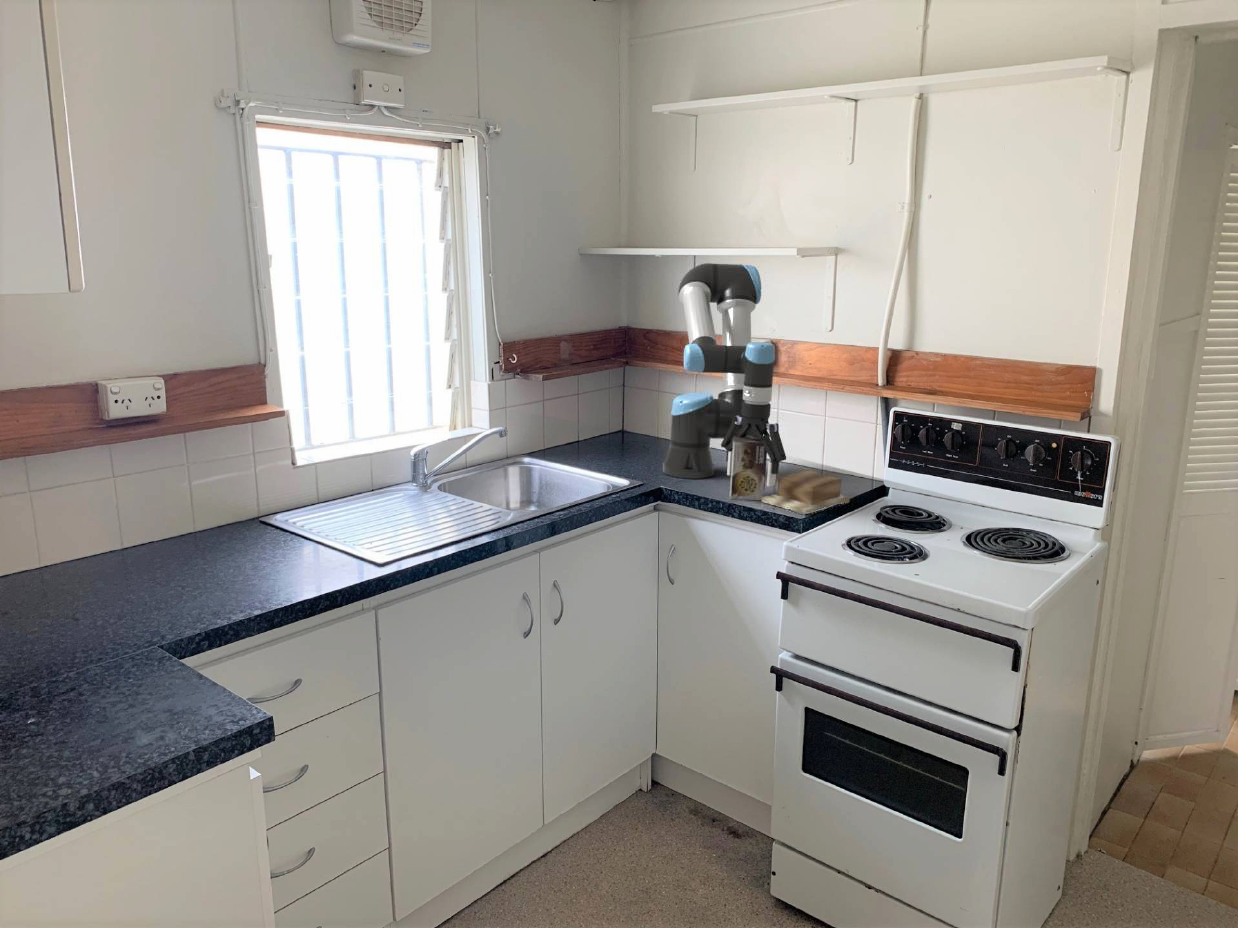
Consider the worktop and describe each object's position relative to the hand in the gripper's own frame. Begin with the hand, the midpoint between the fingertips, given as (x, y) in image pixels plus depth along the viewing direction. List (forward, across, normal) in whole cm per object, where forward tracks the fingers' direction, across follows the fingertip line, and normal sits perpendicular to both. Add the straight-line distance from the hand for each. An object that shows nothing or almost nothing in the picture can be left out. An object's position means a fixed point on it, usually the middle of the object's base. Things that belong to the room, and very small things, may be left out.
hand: (750, 479), depth 246 cm
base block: (+3, +12, +10) cm, 16 cm away
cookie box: (+5, -1, 0) cm, 5 cm away
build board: (+5, +12, +9) cm, 16 cm away
